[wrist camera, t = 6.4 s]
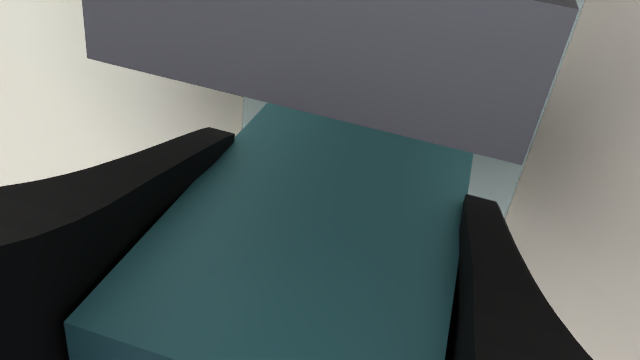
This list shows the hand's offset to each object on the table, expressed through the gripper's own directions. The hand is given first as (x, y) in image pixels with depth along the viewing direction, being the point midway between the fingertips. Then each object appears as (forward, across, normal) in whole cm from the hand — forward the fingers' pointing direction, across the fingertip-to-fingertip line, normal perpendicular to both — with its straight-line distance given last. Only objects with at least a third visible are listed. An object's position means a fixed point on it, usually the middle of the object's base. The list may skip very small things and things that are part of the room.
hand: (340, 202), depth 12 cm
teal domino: (+3, 0, 0) cm, 3 cm away
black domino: (+4, 0, -5) cm, 7 cm away
